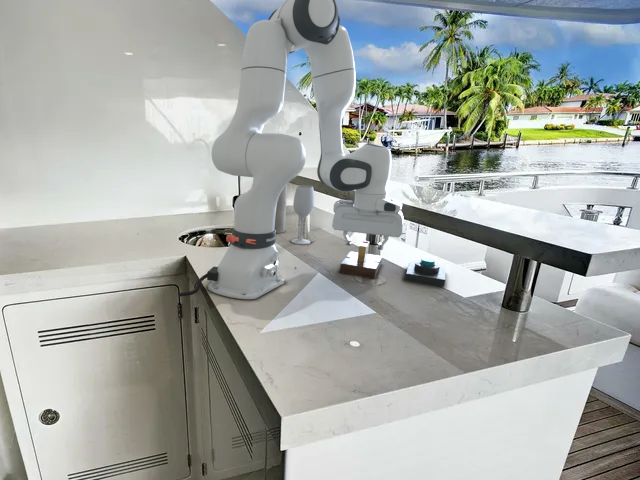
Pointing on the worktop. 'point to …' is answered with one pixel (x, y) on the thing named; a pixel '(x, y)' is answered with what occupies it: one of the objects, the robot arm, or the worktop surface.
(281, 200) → the thermos bottle
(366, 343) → the worktop surface
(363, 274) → the plate
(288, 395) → the worktop surface
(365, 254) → the lock knob
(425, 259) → the bell button
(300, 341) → the worktop surface
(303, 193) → the wineglass
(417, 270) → the bell box
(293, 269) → the worktop surface
